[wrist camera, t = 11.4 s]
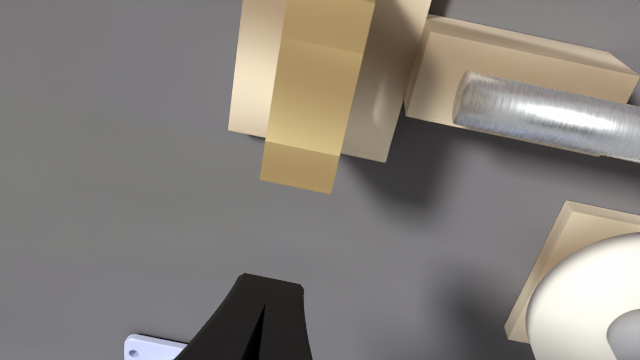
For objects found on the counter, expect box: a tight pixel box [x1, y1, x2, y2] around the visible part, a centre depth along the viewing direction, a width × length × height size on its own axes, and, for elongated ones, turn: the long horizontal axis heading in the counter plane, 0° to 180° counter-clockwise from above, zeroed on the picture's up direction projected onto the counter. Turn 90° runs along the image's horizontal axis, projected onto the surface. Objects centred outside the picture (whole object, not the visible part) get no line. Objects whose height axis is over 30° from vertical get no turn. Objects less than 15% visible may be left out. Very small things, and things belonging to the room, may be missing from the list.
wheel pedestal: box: [504, 201, 640, 344], centre depth 23 cm, size 7×7×2 cm
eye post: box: [228, 0, 640, 194], centre depth 17 cm, size 8×12×6 cm, turn 79°
